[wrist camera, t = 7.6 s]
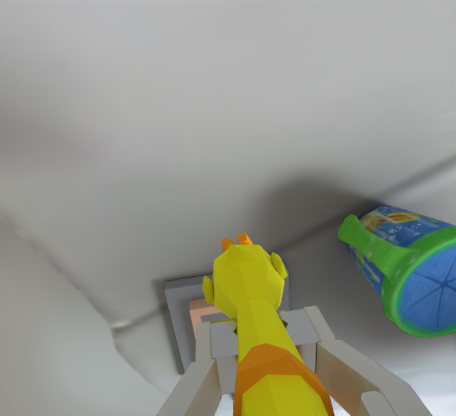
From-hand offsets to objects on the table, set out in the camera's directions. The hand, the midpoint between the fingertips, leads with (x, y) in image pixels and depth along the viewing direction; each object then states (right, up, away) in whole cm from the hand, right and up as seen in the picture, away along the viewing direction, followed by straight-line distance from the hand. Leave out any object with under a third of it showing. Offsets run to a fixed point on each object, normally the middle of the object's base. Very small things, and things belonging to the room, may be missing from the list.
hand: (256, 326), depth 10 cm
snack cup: (+16, +2, +21) cm, 26 cm away
